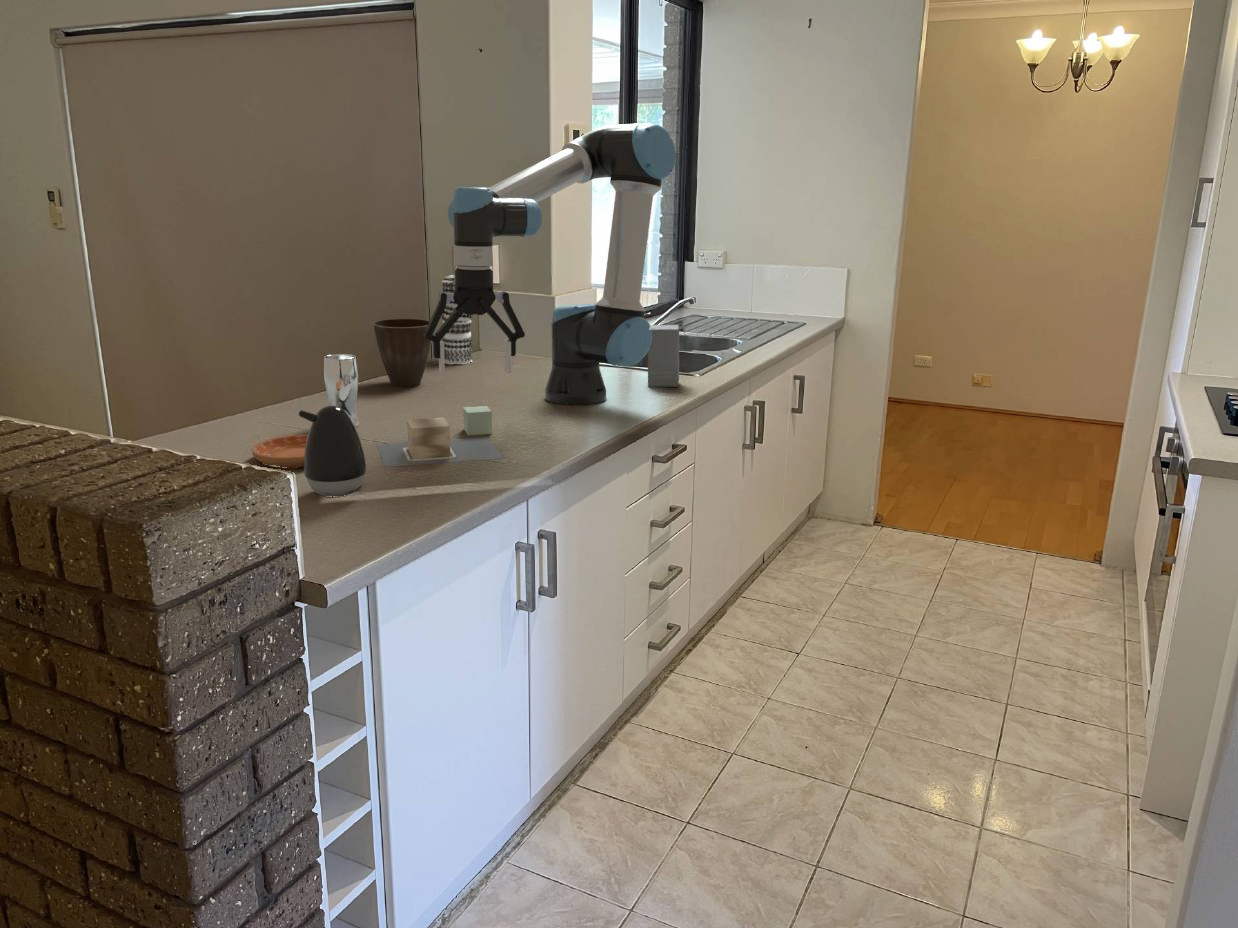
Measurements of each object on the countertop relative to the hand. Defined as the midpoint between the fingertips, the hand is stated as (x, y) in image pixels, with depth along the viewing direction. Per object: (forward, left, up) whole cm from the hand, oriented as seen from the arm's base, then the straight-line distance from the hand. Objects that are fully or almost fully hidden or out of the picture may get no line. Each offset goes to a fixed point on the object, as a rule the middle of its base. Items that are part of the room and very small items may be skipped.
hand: (475, 373), depth 195 cm
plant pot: (+8, -58, -14) cm, 60 cm away
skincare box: (-57, -40, -14) cm, 71 cm away
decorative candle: (-10, -85, -14) cm, 87 cm away
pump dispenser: (+30, +30, -14) cm, 44 cm away
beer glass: (+26, -17, -14) cm, 34 cm away
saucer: (+36, +7, -14) cm, 39 cm away
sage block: (0, 0, -14) cm, 14 cm away
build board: (+10, +13, -14) cm, 21 cm away
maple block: (+12, +14, -12) cm, 22 cm away
